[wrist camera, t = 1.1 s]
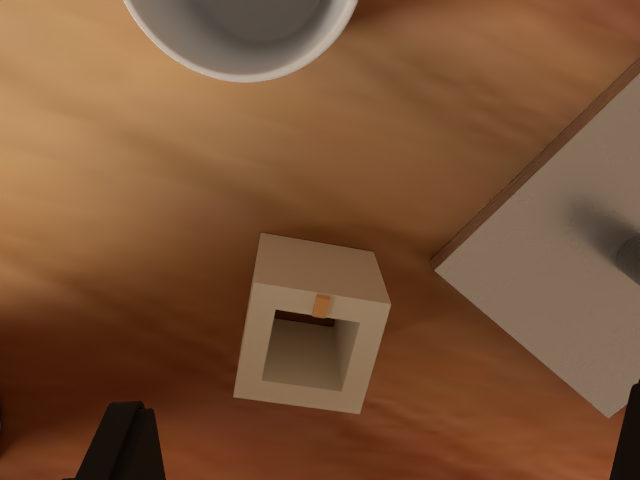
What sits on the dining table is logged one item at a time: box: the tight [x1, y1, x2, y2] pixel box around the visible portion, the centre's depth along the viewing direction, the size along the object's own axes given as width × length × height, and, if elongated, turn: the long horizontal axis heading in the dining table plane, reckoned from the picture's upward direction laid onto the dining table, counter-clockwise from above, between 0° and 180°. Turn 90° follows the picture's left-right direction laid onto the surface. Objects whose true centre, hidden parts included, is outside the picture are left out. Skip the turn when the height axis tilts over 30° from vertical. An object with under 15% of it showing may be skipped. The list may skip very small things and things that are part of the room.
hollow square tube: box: [233, 233, 391, 414], centre depth 29 cm, size 6×6×6 cm
